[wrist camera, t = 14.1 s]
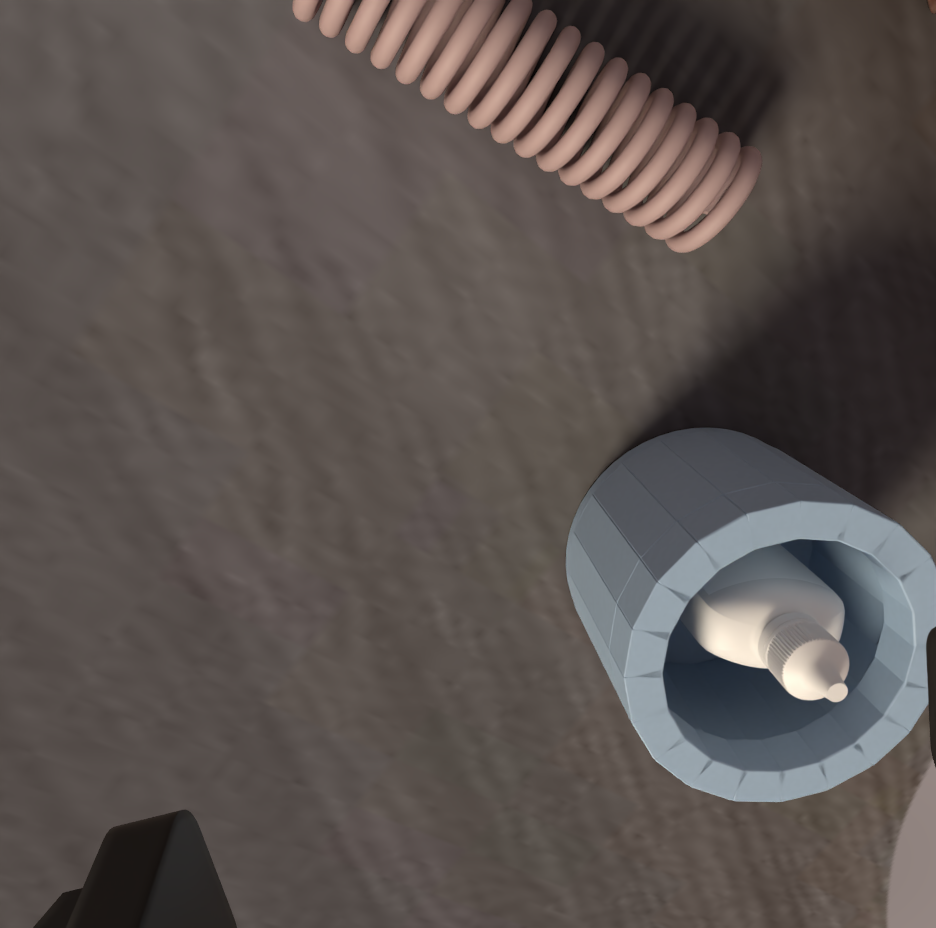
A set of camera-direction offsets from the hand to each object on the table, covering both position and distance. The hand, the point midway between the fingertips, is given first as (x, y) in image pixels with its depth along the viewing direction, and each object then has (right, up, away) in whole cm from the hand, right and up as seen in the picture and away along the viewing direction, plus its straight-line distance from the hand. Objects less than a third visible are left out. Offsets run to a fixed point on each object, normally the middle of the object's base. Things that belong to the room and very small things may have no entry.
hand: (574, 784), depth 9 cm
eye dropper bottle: (+10, 0, +30) cm, 32 cm away
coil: (+1, +18, +24) cm, 30 cm away
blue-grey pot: (+9, -1, +31) cm, 32 cm away
